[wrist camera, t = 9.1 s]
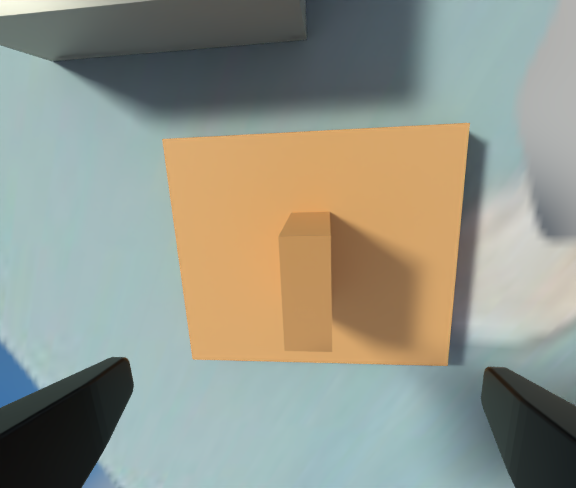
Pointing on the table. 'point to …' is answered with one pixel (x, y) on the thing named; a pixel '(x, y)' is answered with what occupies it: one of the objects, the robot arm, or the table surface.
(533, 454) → the robot arm
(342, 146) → the lid
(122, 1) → the tub
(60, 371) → the table surface
